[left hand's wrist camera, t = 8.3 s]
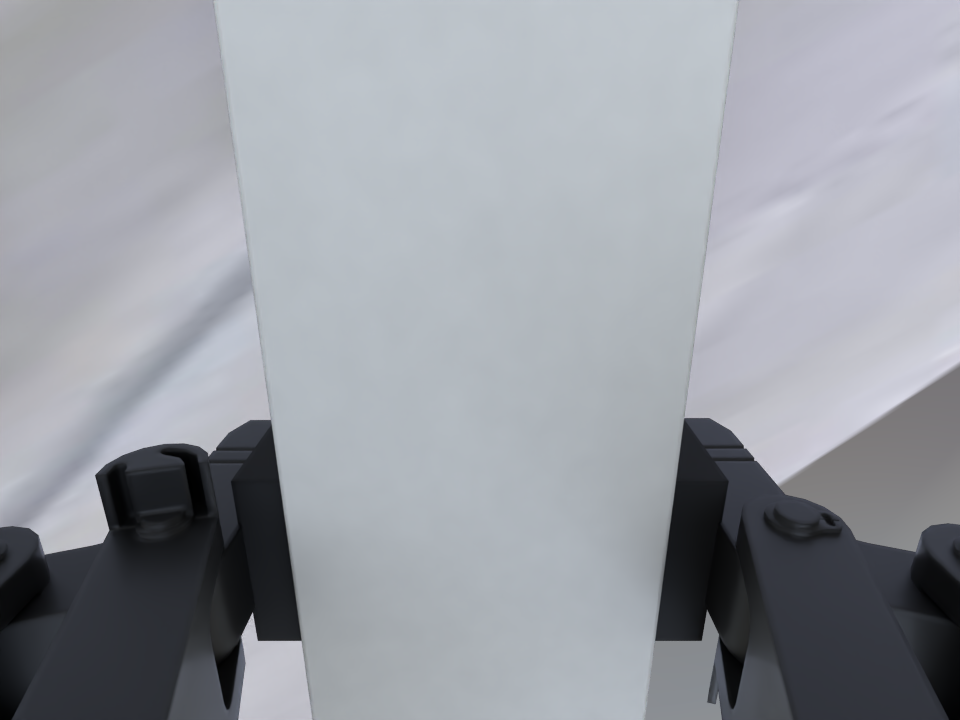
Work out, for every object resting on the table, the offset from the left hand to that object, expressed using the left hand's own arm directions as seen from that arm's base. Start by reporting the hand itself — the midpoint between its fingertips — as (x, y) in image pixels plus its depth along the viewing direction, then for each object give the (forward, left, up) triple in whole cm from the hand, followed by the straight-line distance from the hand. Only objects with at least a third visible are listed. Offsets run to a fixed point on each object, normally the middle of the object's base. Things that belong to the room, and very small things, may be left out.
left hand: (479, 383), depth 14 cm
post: (-17, +19, -1) cm, 25 cm away
